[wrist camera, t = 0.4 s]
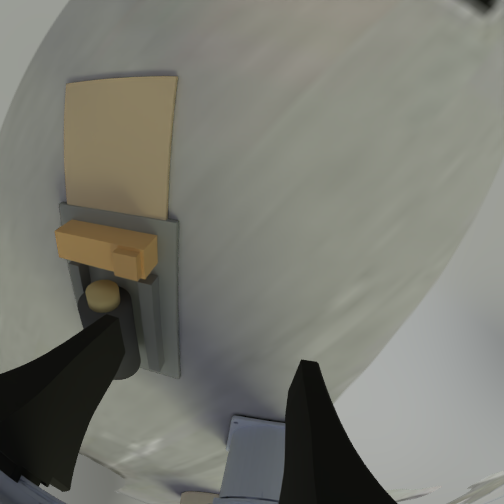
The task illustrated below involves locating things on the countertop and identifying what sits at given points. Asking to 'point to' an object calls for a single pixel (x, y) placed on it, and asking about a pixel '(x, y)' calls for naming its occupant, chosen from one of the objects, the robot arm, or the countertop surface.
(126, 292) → the dark grey cylinder
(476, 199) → the countertop surface
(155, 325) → the board
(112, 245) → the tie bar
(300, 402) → the robot arm
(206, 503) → the kettle
